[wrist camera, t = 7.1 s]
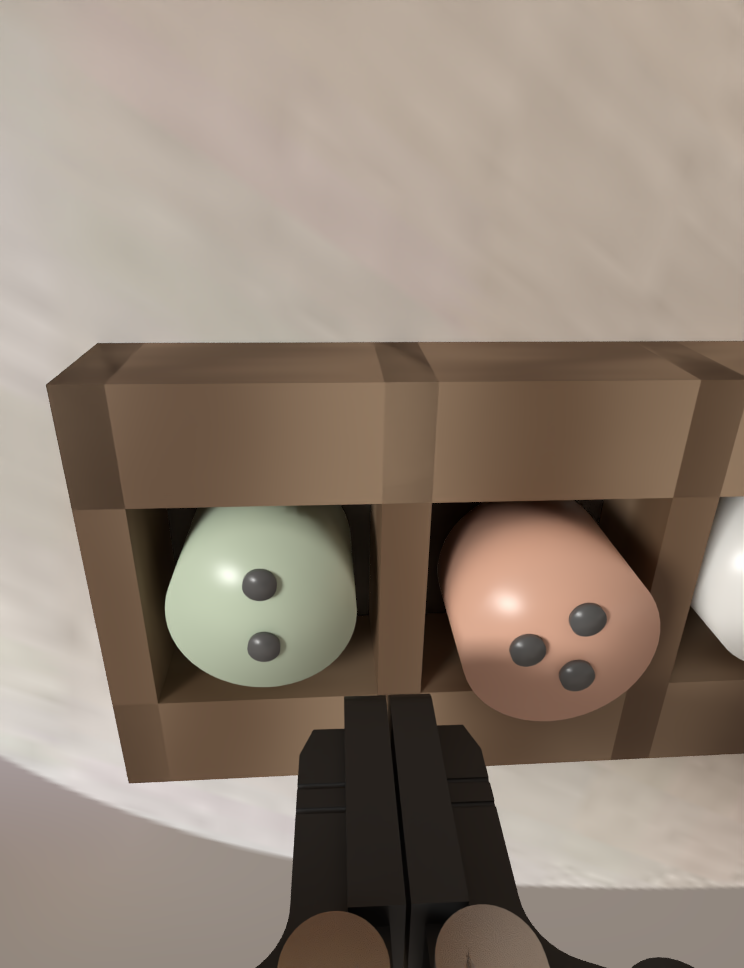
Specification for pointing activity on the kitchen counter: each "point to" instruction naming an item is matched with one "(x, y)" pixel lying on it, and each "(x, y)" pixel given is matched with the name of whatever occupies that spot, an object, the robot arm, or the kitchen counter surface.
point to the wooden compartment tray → (399, 523)
